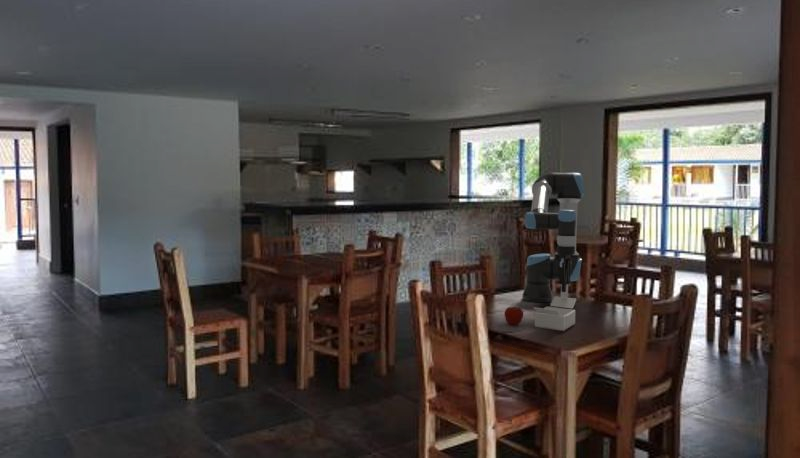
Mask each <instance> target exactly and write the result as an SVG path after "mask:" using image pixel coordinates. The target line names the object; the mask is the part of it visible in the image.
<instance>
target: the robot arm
mask: <svg viewBox="0 0 800 458" xmlns="http://www.w3.org/2000/svg"><path fill="white" fill-rule="evenodd" d="M531 186H532V187H531V193H532V201H531V209H530V211H527V212H525V218H524V219H525V220H524V225H525V228H526V229H531V230H557V237H556V241H557V246H556V252H555V253H554V256H552V255H551V254H550V253H536V254H531V255H529V256H528V257H527V258H526V259H527V260H526V264H525V266H526V279H525V280H526V281H525V283H526V284H525V287H524V289H523V293H522V297H521V298H522V300H523V301H527V302H531V303H551V302H552V300H553V298H554V295H553V292H552V289H551V286H550V285H551V281H558V284H559V285H560V297H561V299H568V298H569V285H571V282H576V281H578V280H579V277H580V274H581V268H582V261H583V259H582V258H581V257H580V254H579V252H578V251H577V236H578V235H577V229H578V206H579V205H578V203H579V202H580V201H582V197H584V196H585V190H584V181H583V175H582V174H581V173H580V172H573V171H571V172H547V173H544V174H542V175H541V176H539V177H538V178H537V179H535V181H534V182H533V184H532V185H531ZM550 196H556V200H557V201H558V202H559V210H558V212H549V211H548V209H549V198H550Z"/></svg>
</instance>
